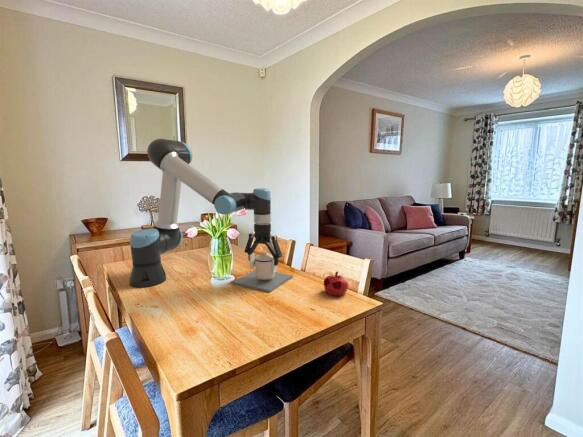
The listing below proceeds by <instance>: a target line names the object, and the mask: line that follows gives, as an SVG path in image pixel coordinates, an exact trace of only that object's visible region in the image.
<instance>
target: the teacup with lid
mask: <svg viewBox="0 0 583 437" xmlns="http://www.w3.org/2000/svg"><path fill="white" fill-rule="evenodd" d="M272 259H273V256H272V254H271V253H268V252H267V251H262V253H260V254H258V255H256V256H254V265H255V267H254V268H255V270H256V278H258V279H263V280H266V279H271V278H273V277H274V276H275V273H272Z"/></svg>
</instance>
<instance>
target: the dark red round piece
mask: <svg viewBox="0 0 583 437" xmlns="http://www.w3.org/2000/svg"><path fill="white" fill-rule="evenodd" d="M338 274H339V271H335V273H334V274H333V273H329V274H328V275H327V276H326V277H325V278H324V280H323V287H324V288H323V289H324V291H325V292H326V294H328V295H331V296H334V297H338V296H339V297H340V296H343V295H344V294H345V293H347V291H348V287H349V284H348V281H347V280H346V279H345V278H344V277H343V276H342V274H340V275H338Z"/></svg>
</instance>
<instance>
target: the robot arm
mask: <svg viewBox="0 0 583 437" xmlns="http://www.w3.org/2000/svg"><path fill="white" fill-rule="evenodd" d="M146 154H147V158H148V160H150V162H151V163H152V164H153V165H154V166H155V167H157V168H158V169H160V170H161V171H162V175H161V176H162V177H161V186H160V196H159V207H158V214H157V216H158V218H157V221H156V222H154V223H153V228H144V229H140V230H137V231H134V232H133V233H132V234H131V235H130V242H129V245H130V253H131V264H132V268H131V271H130V272H131V273H130V276H129V285H130V286H131V287H134V288H147V287H148V288H149V287H154V286H157V285H160V284H162V283H164V282H165V281H166V280H167V273H166V271H165V268H164V266H163V265H162V258H161V255H162V254H165V253H167V252H170V251H171V252H172V251H174V250H175V249H177V248H178V247H179V246H180V245H181V244H182V242H183V238H184V234H183V232H182V230H181V228H180V225H179V223H178V217H179V216H178V214H179V207H180V206H179V205H180V198H181V188H182V183H183V184H184V185H185V186H187V187H189V188H190V189H191V190H193V191H194V192H195V193H197V194H198V195H199V196H201V197H202V198H203V199H205V200H207V201H208V202H209V203H211V204H212V205H213V206H214V209H215V211H216V212H217V213H218V214H220V215H222V216H223V215H231V214H233V213H235V212H239V211H243V210H242V209H244V208H245V210H248V211H249V210H250V211H253V232H250V233H248V239H247V242H246V245H245V248H244V253H246V254H247V255H248V256H247V257H248V262H249V269H251V270H252V269H253V268H256V267H255V265H254V260H255V253H254V252H255V250H256V248H257V247H258V245H259V244H261V245H265V247H267V249H268V251H269V254H270V255H272V256H273V259H272V273H275V272H277V271H278V265H279V258H282V257H283V253H282V251H281V246H280V245H279V242H278V236H277V235H276V234H275V235H272V234H271V231H272V224H271V222H272V217H271V215H272V214H271V213H272V211H271V209H272V208H271V206H272V205H271V204H272V203H271V199H272V198H271V190H270V189H269V188H254V189H253V190H252V191H253V192H228V191H226V190H225V189H224V188H222V187H221V186H220V185H219V184H216V183H215V182H213V181H212V180H211V179H210V178H208V177H207V176H206V175H204V174H203V173H201V172H200V171H198V170H197V169H196V168H194V167H193V166H192V165H190V164H191V163H192V161H193V152H192V150H191V148H190V146H189V145H188V144H187V143H185V142H184V141H179V140H174V139H165V138H156V139H154V140H152V141H151V142H150V143H149V145H147V151H146Z"/></svg>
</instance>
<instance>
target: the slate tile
mask: <svg viewBox="0 0 583 437" xmlns="http://www.w3.org/2000/svg"><path fill="white" fill-rule="evenodd" d="M293 276H294V275H293V274H292V275H291V274H287V273H281V272H277V271H276V272H275V276H274V277H273V278H271V279H266V280H263V279H258V278H256V269H255V270H252V271H251V272H249V273H247V274H244V275H243V276H241V277H239V278H236V279H235V280H233V281H232V285H236V286H240V287H245V288H248V289H253V290H256V291H262V292H266V293H271V292H273V291H275V290H276V289H278V288H279V287H280V286H282V285H284V284H285V283H286V282H289V280H291V279H293V278H294V277H293Z"/></svg>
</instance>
